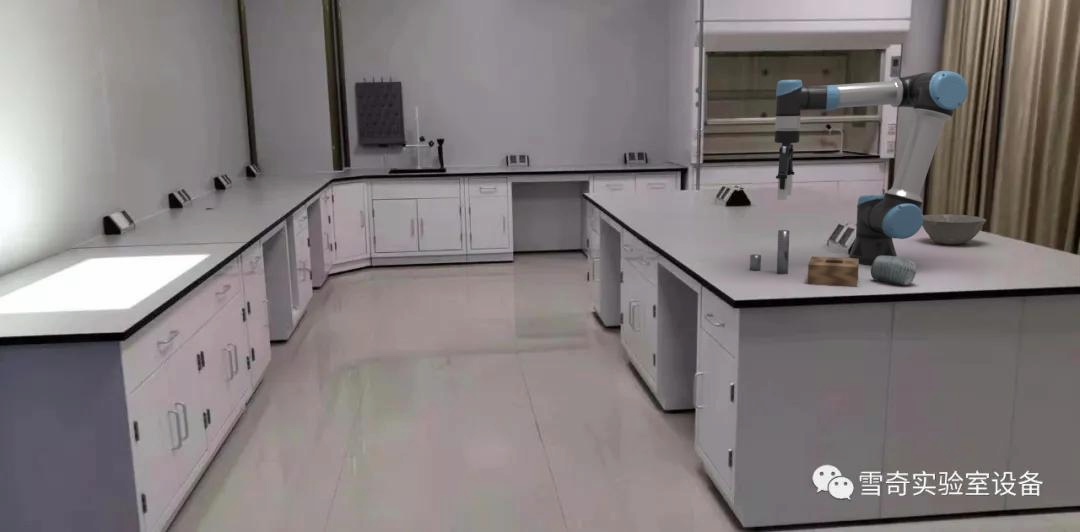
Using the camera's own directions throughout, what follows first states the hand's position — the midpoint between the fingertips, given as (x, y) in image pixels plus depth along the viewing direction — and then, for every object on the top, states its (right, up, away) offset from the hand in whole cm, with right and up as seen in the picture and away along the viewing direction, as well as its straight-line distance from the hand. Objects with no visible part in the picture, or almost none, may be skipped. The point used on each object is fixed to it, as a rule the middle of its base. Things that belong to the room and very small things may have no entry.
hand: (784, 197), depth 261 cm
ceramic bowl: (+79, -14, +51) cm, 95 cm away
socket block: (+13, -26, -8) cm, 30 cm away
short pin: (-6, -23, +11) cm, 26 cm away
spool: (+29, -27, -12) cm, 42 cm away
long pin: (+1, -24, +5) cm, 25 cm away
